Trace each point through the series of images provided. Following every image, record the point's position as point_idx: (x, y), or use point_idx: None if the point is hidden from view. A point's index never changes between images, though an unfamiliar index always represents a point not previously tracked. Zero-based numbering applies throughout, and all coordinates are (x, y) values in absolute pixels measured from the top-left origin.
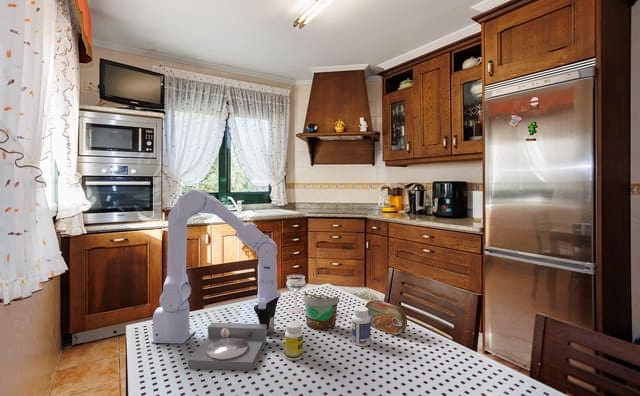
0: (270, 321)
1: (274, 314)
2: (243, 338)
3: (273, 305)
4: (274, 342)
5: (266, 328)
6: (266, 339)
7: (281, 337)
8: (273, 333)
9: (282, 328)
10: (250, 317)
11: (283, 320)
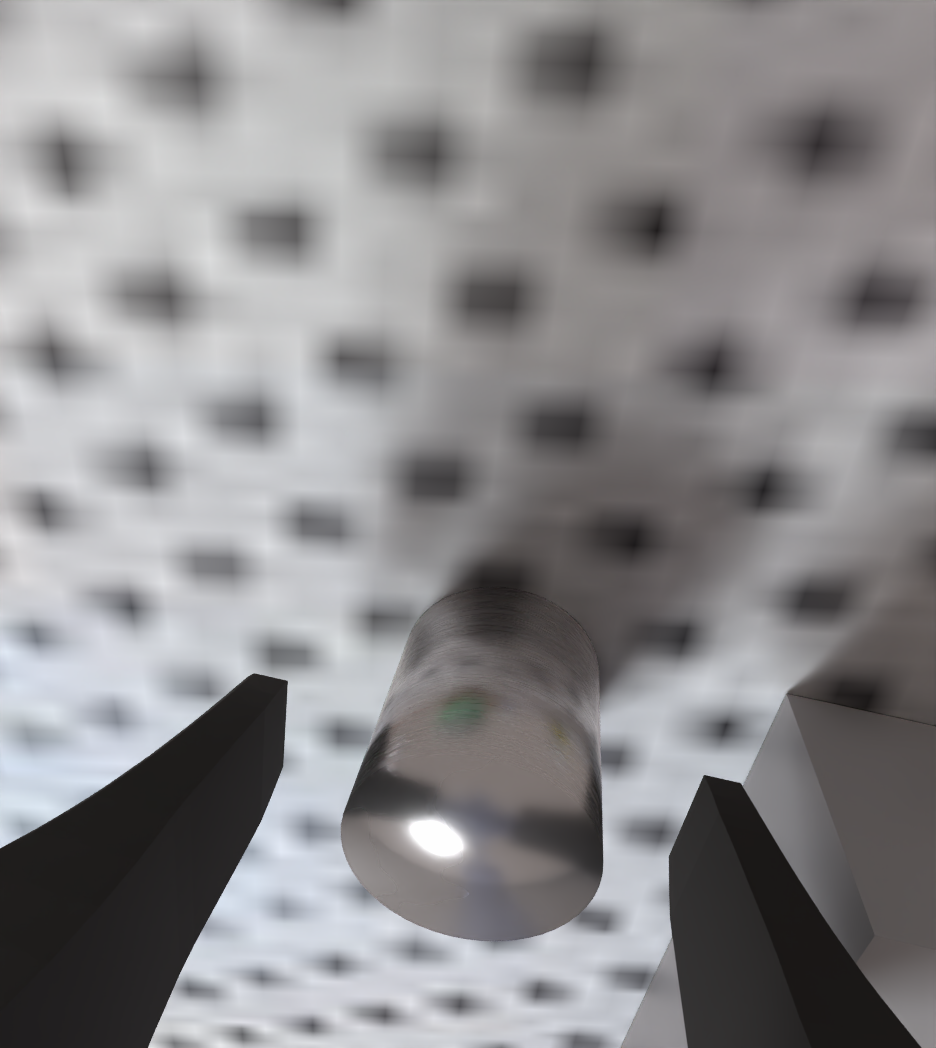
0: (589, 806)
1: (247, 726)
2: None
3: (135, 911)
4: (854, 596)
5: (861, 864)
6: (805, 718)
7: (699, 488)
8: (544, 602)
9: (352, 461)
10: (30, 825)
11: (40, 434)
